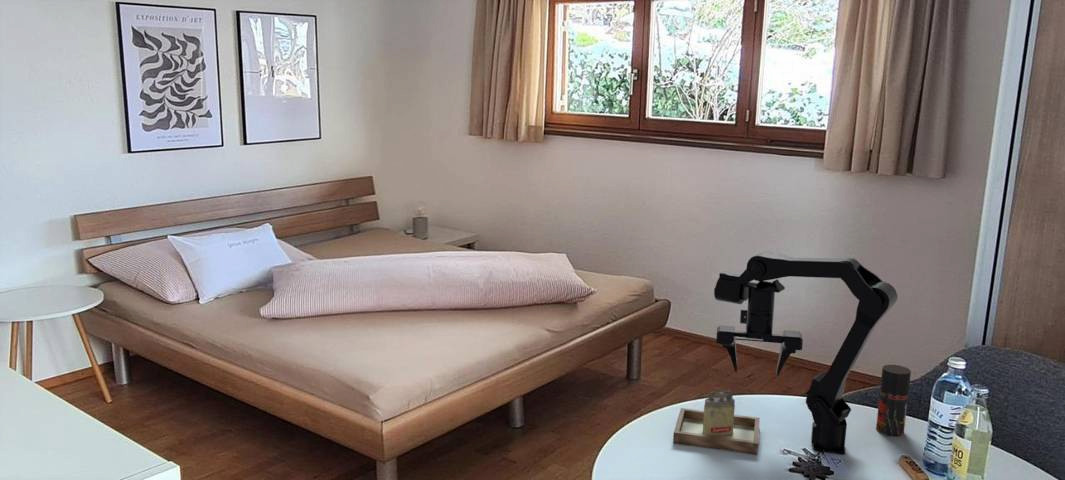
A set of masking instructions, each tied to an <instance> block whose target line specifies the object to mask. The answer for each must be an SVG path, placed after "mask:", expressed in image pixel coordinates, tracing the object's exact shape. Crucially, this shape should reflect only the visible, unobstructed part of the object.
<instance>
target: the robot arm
mask: <svg viewBox="0 0 1065 480" xmlns="http://www.w3.org/2000/svg"><path fill="white" fill-rule="evenodd" d="M746 263H747V264H746V269H745V270H744V271H743V272H742V273H741V274H737V273H731V272H728V271H722V272H719V274H718V275H719V278H718V279H717V281H716V284H715V287H714V291H713V295H714V299H715V300H716V301H719V302H724V303H731V304H736V305H742V304H744V302H747V309H740V316H739V317H740V318H739V320H740V321H739V323H740V324H742V325H744V324H745V331H740V330H739V331H737V330H735V329H736V327H735V326H733V325H731V326H730V325H719V326H717V327H716V342H715V343H716V344H719V345H721V347H722V348H724V349H726V350H727V352H728V354H729V357H730V359H731V363H732V367H733V369H734V372H735V373H738V358H737V344H736V341H747V342H759V343H760V342H761V343H775V344H780V350H779V355H778V356H779V357H778V361H777V366H776V376H780V374H781V372H782V370H783V367H784V365H785V363H786V361H787V360H788V358H789V357H790V356H791V354H796V353H797V351H802V350H803V335H802V333H801V332H800V331H797V330H796V331H795V330H785V329H784V330H783V331H782V334H779V333H778V334H777V333H775V334H774V333H773V328H774V327H773V326H774V325H773V324H774V311H775V310H774V309H775V295H776V293H777V294H778V293H781V292H783V291H784V290H785V289H786V286H784V285H783V284H782V283H781V282H780V280H779V279H782V278H786V277H787V278H788V277H789V278H790V277H797V278H798V277H799V278H800V277H802V278H822V279H823V278H824V279H840V280H842V281H843V282H844V284H845V285H846V286H847V288H848V289H849V291H850V292H851V295H853V296H854V297H855V298H856V299H857V300H858V304H857V307H856V311H855V320H854V322H853V324H852V325H851V328H850V330H849V332H848V333H847V334H846V337H845V338H844V340H843V343H842V344H841V346H840V348H839V350H838V351H837V354H836V355H835V357H834V359H833V361H832V363H831V364H830V367H829V368H828V371H827V372H826V373H825V372H824V371H821V372H820V373H818V374H817V375H816V376H815V377H814V378H812V380H811V384H810V387H809V389H808V390H807V391H806V392H805V393H804V395H807V396H806V399H805V404H806V406H807V408H808V410H809V411H810V412H811V417H812V420H813V422H811V423H812V425H811V426H812V427H811V435H810V440H811V442H810V443H811V445H812V446H813V450H814V451H819V452H826V453H835V454H841V455H845V454H846V448H845V446H846V435H847V428H848V427H847V425H848V424H847V419H846V418H848V416H849V415H850V413H851V411H852V408H851V407H850V406H849V404H848V403H847V402H846V400H845V399H844V398H843V395H844V392H845V389H846V382H847V378H848V377H849V375H850V372H851V371H852V369H853V367H854V365H855V364H856V361H857V360H858V359H859V358H858V357H859V356H860V355H861V352H862V351H863V349H864V347H865V345H866V343H867V341H868V340H869V338H870V337H871V334H872V332H873V330H874V329H875V327H876V325H878V324H879V323H880V321H881V320H882V319H883V318H884V317H885V315H886V314H887V313H888V312H889V311H890V310H891V309H892V308H893V306H894V305H895V304H896V303H897V300H898V294H897V293H898V292H897V290H896V289H895V287H894V286H893V285H891V283H888V282H885V281H883V280H882V279H881V278H880V277H879V276H878V275H876V273H874V272H873V271H871V270H870V269H867V268H866V267H864V265H862V264H861V263H860V262H859V261H858V260H857V259H855V258H852V257H848V258H829V257H828V258H827V257H826V258H825V257H824V258H820V257H818V258H817V257H815V258H813V257H794V256H793V257H792V256H788V255H785V254H783V253H778V252H773V251H767V250H766V251H763V252H761V253H758V254H756V255H754V256H752V257H751V256H750V258H749V259H748V261H747V262H746ZM771 280H772V281H771ZM752 281H757V283H756V282H752Z"/></svg>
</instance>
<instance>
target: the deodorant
mask: <svg viewBox="0 0 1065 480" xmlns="http://www.w3.org/2000/svg"><path fill="white" fill-rule="evenodd" d="M911 371H912V370H911V369H910V368H908V367H906V366H903V365H898V364H885V365H883V366H882V369H881V378H880V379H881V380H880V389H879V399H878V408H877V415H876V416H877V417H876V428H875V430H876V431H877V432H878V433H880V434H881V435H883V436H884V435H885V436H888V437H894V438H895V437H896V438H897V437H901V436H904V434H905V427H906V426H905V425H906V424H905V423H906V416H907V408H908V401H909V400H908V399H909V392H910V383H911V382H910V381H911V373H912V372H911Z"/></svg>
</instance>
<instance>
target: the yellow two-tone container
mask: <svg viewBox="0 0 1065 480" xmlns="http://www.w3.org/2000/svg"><path fill="white" fill-rule="evenodd" d="M733 395H734V394H733V393H732V392H731V390H729V389H726V391H725V390H724V391H710V392H709V397H708V398H706V399H705V401H704V406H703V407H704V408H703V411H704V420H703V432H702V433H703V434H704V435H712V436H730V435H732V434H733V424H734V415H735V407H736V404H735V402H736V401H735V399H734V396H733Z"/></svg>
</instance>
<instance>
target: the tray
mask: <svg viewBox="0 0 1065 480" xmlns="http://www.w3.org/2000/svg"><path fill="white" fill-rule="evenodd" d="M760 419H761V418H760V417H756V416H748V415H739V414H734V424H733V434H732V435H730V436H712V435H704V434H703V433H702V432H703V420H704V410H701V409H700V410H699V409H694V408H693V409H692V408H685V407H680V410H679V413H678V417H677V419H676V423H675V427H674V430H673V437H672V438H673V439H672V444H674V445H675V444H676V445H683V446H690V447H697V448H704V449H712V450H719V451H725V452H727V451H728V452H734V453H741V454H748V455H754V456H755V455H756V456H757V455H758V452H759V451H758V450H759V437H760V434H759V433H760Z"/></svg>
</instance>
